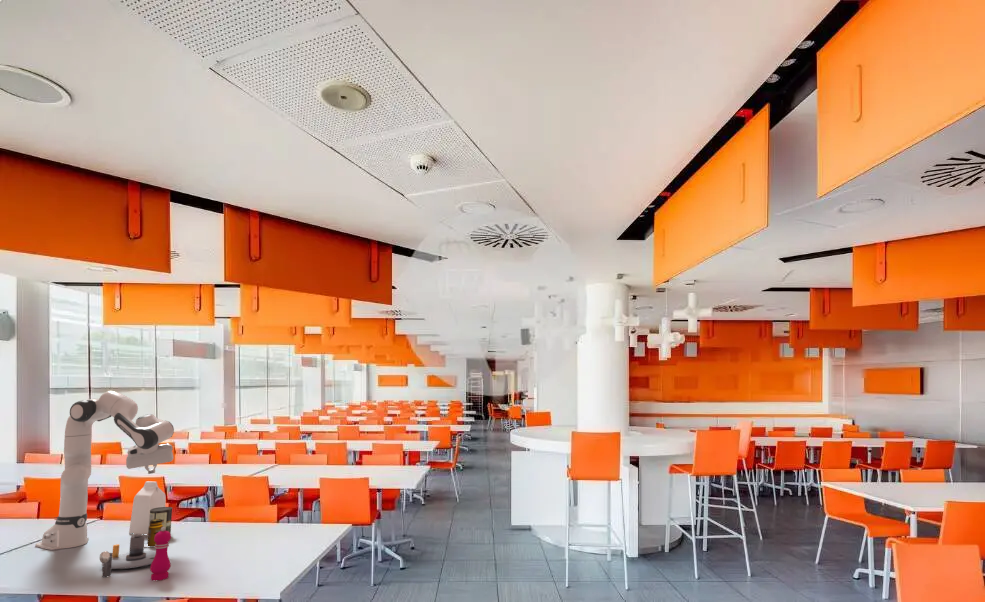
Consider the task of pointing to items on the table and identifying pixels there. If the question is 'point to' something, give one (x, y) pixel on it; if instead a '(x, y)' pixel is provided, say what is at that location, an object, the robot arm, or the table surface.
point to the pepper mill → (161, 556)
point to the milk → (145, 507)
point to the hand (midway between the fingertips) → (151, 473)
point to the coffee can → (162, 516)
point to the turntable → (122, 563)
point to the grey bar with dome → (106, 563)
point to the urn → (136, 548)
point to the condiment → (154, 530)
